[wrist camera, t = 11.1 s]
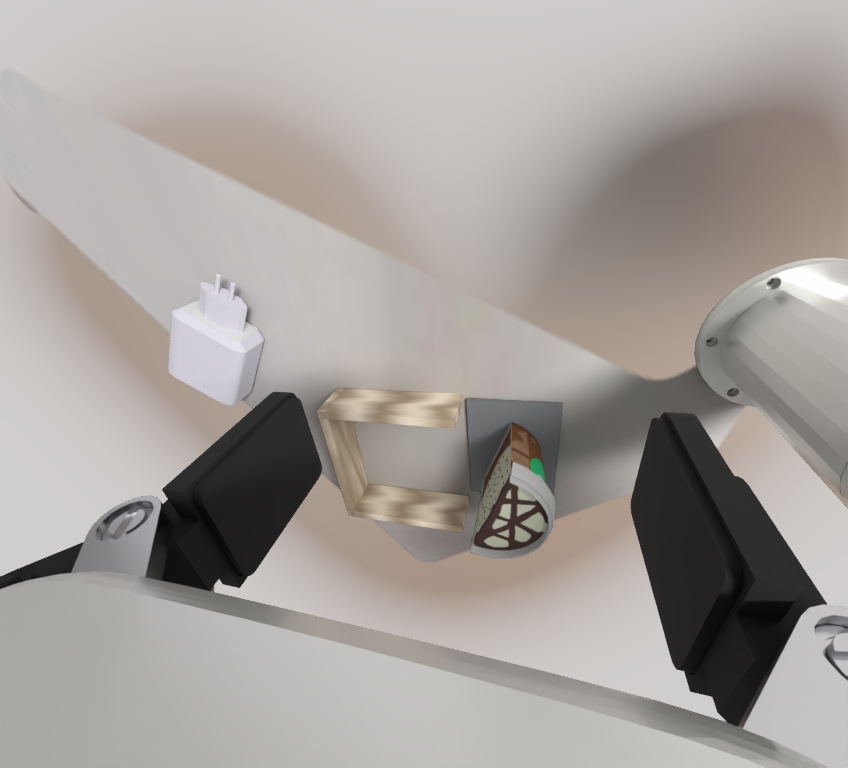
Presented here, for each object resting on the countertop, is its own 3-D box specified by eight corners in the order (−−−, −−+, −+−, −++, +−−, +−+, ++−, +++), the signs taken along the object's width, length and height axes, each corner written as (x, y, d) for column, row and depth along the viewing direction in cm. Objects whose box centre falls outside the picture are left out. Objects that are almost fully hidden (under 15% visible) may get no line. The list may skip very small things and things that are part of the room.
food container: (527, 502, 46) (525, 577, 37) (480, 484, 46) (468, 555, 38) (572, 431, 39) (582, 503, 31) (516, 411, 39) (512, 478, 31)
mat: (562, 402, 38) (562, 404, 38) (552, 497, 45) (552, 500, 44) (466, 397, 41) (466, 399, 40) (471, 488, 48) (471, 490, 47)
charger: (278, 294, 40) (255, 388, 49) (204, 251, 40) (193, 354, 48) (250, 308, 36) (230, 408, 45) (168, 261, 36) (163, 371, 44)
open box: (462, 393, 40) (453, 420, 36) (468, 501, 49) (462, 532, 45) (337, 388, 45) (316, 411, 40) (362, 487, 53) (348, 515, 49)
